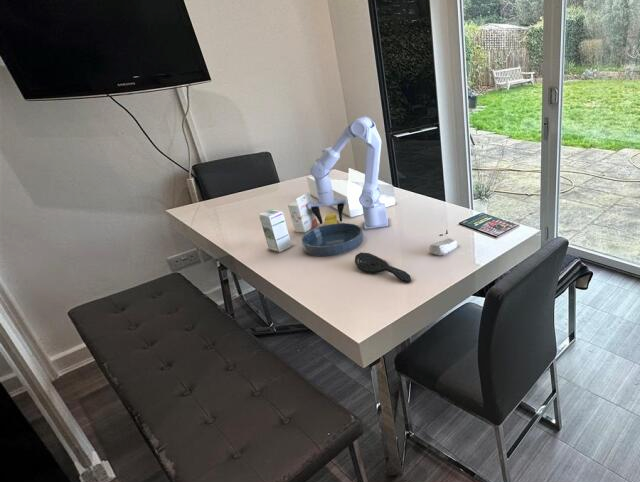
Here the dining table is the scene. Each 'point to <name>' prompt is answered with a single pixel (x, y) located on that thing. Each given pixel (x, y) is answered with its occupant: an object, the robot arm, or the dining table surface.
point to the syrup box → (275, 230)
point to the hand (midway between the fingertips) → (331, 222)
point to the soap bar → (443, 246)
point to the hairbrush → (378, 266)
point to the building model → (354, 192)
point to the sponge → (330, 219)
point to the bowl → (332, 239)
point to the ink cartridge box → (302, 214)
